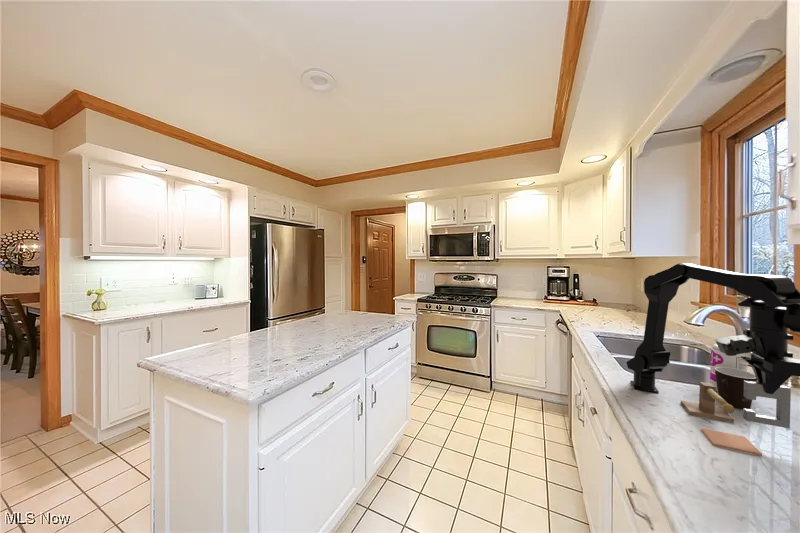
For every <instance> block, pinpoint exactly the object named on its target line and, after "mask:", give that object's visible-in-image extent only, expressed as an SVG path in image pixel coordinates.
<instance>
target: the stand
mask: <svg viewBox="0 0 800 533" xmlns="http://www.w3.org/2000/svg"><path fill="white" fill-rule="evenodd" d="M698 396H699V397H698V402H693V401H687V400H682V399H680V404H681V406H682V407H683V408H684V409H685V411H686V412H687V413H688V414H689V415H691V416H697V417H701V418H706V419H711V420H712V419H713V420H716V421H723V422H727V423H732V424H734V423H735V418H734V417H733V416H731V415H730V414H732V413H734V412H736V408H734V407H733V406H732V405H730V404H728V403H727V402H726V401H725V400H724V399H723V398H722V397H721V396H719V395H718V392H717V390H716V387H715V386H714V385H713V384H711V383H710V382H704V381H703V382H702V381H699V395H698ZM716 403H717V404H718V405H720V406H718V405H716Z"/></svg>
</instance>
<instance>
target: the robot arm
mask: <svg viewBox="0 0 800 533" xmlns="http://www.w3.org/2000/svg"><path fill="white" fill-rule="evenodd" d="M689 279H692V280H696V281H700V282H705V283H707V284H713V285H717V286H722V287H726V288H729V289H731V290H734V291H735V292H737V293H739V294H741V295H743V296H746V297H747V298H746V299H744V300H743V301H740V302H738V303H737V306H739V307H743V308H744V307H745V308H749V327H748V328H744V330H743V332H742V334H740V335H731V336H725V337H720V338H715V339H714V341H715V344H717V345H718V347H719V349H720V352H723V353H725V354H726V355H728V356H735V355H737V354H743V353H745V357H743V356H741V358H742V359H743V360H745V361H746V362H747V363H748V365H750V366H751V369H752V371H753V374H755V376H756V379H757V382H760V383H763V384H764V389H765V392H766V393H767V394H774V392H775V391H776V390H777V389H778V388H779V387H780V386H781V385H783V384H784V383H785V382H787V380H789V379H790V378H791V377H793V376H794V377H800V358H794V353H792V352H791V351H788V350H789V348H788V347H789V346H788V341H789V340H790V341H794V335H793V334H789V330H790V331H791V332H793V333H797V334H800V291H799V290H798V289H797V288H796V285H795V283H794V281H792V279H791V278H790V277H788V276H785V275H777V274H776V275H775V274H759V273H755V274H754V273H740V272H735V271H730V270H724V269H719V268H713V267H709V266H703V265H697V264H695V263H690V262H689V263H688V262H684V263H682V262H681V263H676V264H674V265H673V266H670V268H666V269H664V270H662V271H659V272H657V273H655V274H651V275H648V276H647V277H645V278H644V280H643V290H644V291H643V292H644V295H645V296H646V298H647V300H648V304H647V312H646V318H645V319H646V320H645V327H644V334H643V341H642V342H641V343H640V344H639V345H638V346H637V348H636V349H635V353H634V357H632V358H630V359H628V360H627V361H626V366H627V369H629V370H630V371H633V380H630V382H629V383H630V384H631V385H632V388H633V389H634V390H637V391H643V392H644V391H645V392H649V393H657V394H659V393H660V392H659V390H658V388H657V386H656V372H657V373H658V372H660V373H662V372H663V370H664V368H666V367H667V366H668V365H669V364H671V362H670V356H671V351H669V350H666V348H665V346H664V338H665V333H666V332H665V331H666V327H667V326H666V325H667V324H666V323H667V316H668V311H669V303H670V302H671V301H672V300H673V299H674V297H676V296H677V293H678V291H679V287H680V286H682V285H684V284H686V283H688V281H689Z"/></svg>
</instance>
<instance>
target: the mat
mask: <svg viewBox="0 0 800 533" xmlns="http://www.w3.org/2000/svg"><path fill="white" fill-rule="evenodd" d="M700 431H701V432H702V433H703V434H704V436H705V437H706V439H708V441H709V442H710V443H711V444H712V446H714V447H719V448H723V449H727V450H731V451H736V452H740V453H745V454H750V455H755V456H758V457H763V453H762V452H761V451H760V450H759V449H758V448H757V447H756V446H755V445H754V444H753V443H752V442H751V441H750V440H749V439H748V438H747V437H746V436H743V435H739V434H738V435H737V434H733V433H728V432H724V431H720V430H719V431H718V430H713V429H709V428H704V427H701V428H700Z"/></svg>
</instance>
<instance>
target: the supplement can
mask: <svg viewBox="0 0 800 533" xmlns="http://www.w3.org/2000/svg"><path fill="white" fill-rule="evenodd" d="M741 356H743V357H745V353H743V354H737V355H735V356H728V355H726V354H725V353H723V352H720V349H719V347H718V345H717V343H714V344H713V346H711V348H710V368H709V383H711V384H713V385H714V386H715V387H716V391H717V383H716V375H715V368H716V367H727V368H734V369H739V370H743V371H747V372H748V365H749V363H747V362H746V361H745V360H743V359H742V358H741Z"/></svg>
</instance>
